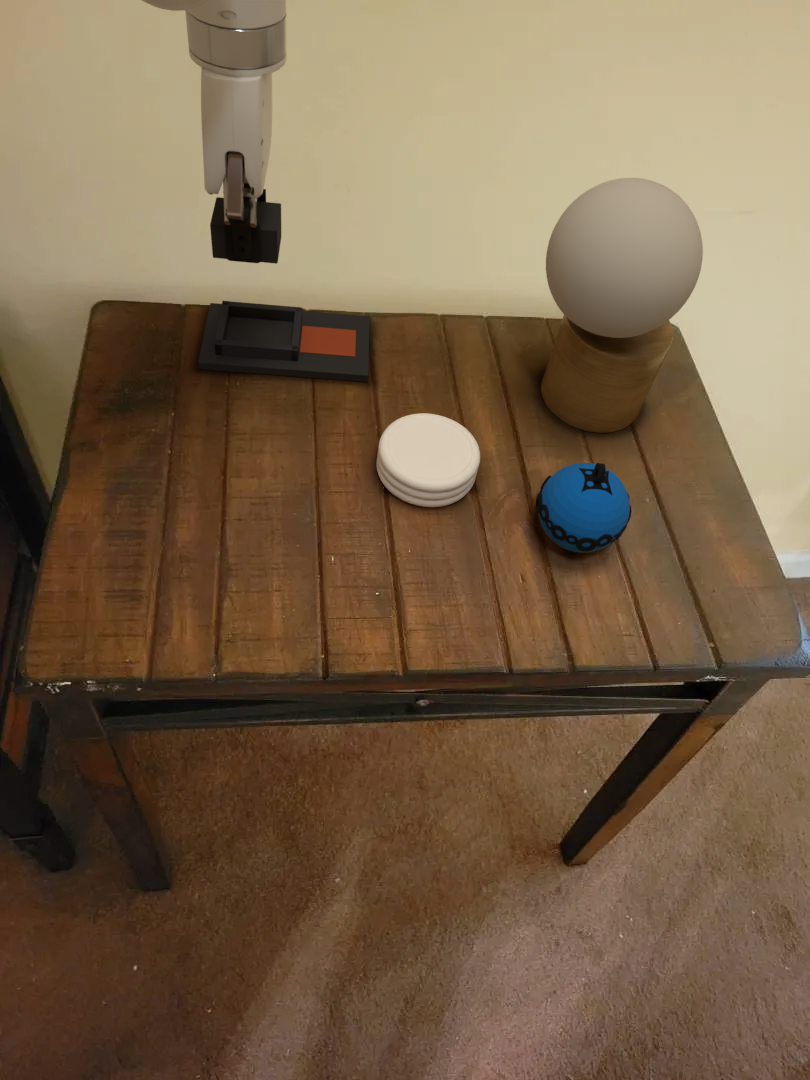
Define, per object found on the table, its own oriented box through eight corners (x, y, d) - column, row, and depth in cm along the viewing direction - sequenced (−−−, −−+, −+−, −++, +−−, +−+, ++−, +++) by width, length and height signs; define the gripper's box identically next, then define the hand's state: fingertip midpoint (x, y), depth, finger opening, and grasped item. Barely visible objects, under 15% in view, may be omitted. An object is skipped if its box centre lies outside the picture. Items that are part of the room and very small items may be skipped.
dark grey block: (212, 258, 76) (209, 224, 74) (218, 230, 79) (216, 196, 76) (277, 264, 77) (277, 230, 74) (281, 236, 80) (281, 203, 77)
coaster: (356, 476, 81) (358, 452, 78) (411, 420, 86) (415, 396, 83) (441, 526, 78) (447, 503, 75) (492, 465, 84) (499, 442, 81)
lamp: (539, 457, 85) (615, 245, 65) (487, 367, 93) (542, 152, 73) (663, 434, 89) (771, 228, 69) (605, 349, 97) (686, 141, 77)
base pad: (198, 369, 87) (196, 351, 85) (210, 309, 93) (209, 291, 91) (367, 382, 89) (369, 364, 87) (368, 323, 95) (370, 305, 93)
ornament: (619, 575, 77) (657, 509, 69) (529, 566, 77) (557, 498, 69) (609, 505, 82) (643, 435, 74) (525, 496, 82) (550, 425, 74)
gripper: (203, -15, 68) (218, 191, 82) (169, 80, 58) (193, 295, 72) (294, -4, 69) (293, 198, 83) (277, 92, 59) (279, 303, 73)
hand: (246, 241), depth 78 cm, fingers closed on dark grey block, 4 cm apart
